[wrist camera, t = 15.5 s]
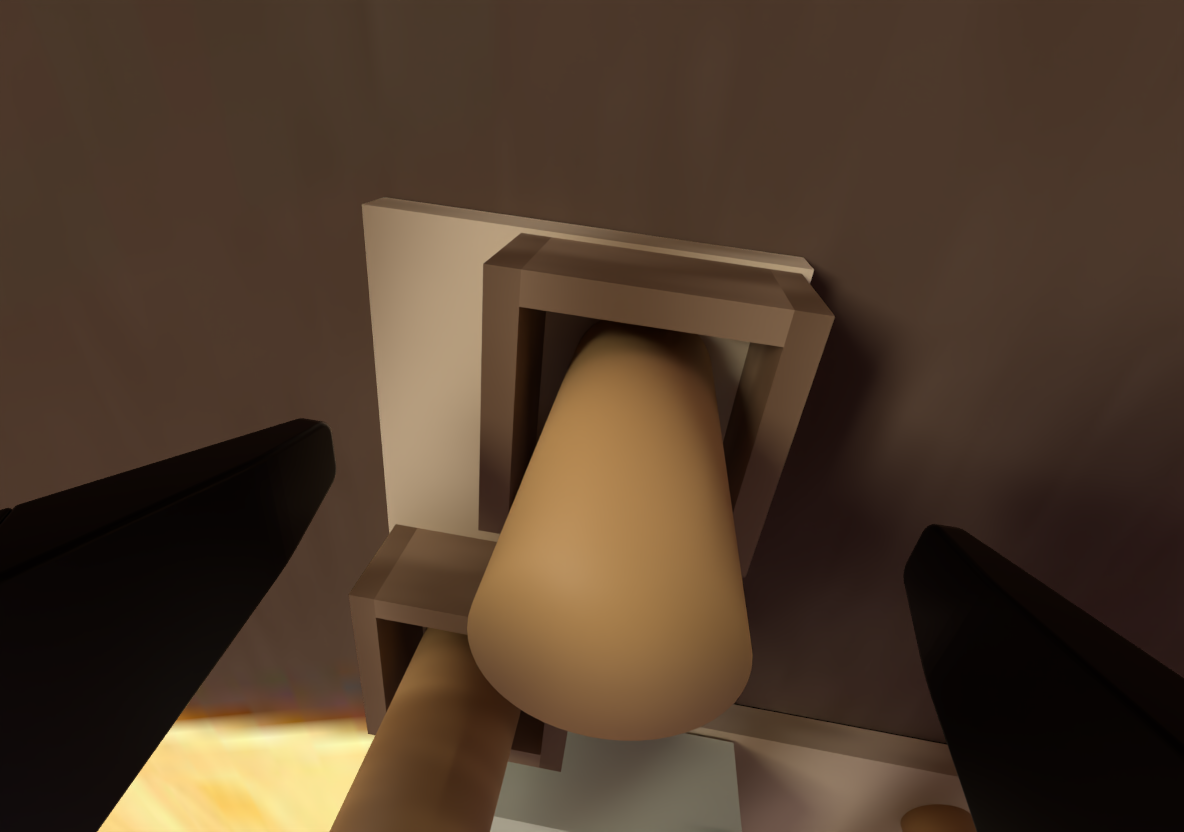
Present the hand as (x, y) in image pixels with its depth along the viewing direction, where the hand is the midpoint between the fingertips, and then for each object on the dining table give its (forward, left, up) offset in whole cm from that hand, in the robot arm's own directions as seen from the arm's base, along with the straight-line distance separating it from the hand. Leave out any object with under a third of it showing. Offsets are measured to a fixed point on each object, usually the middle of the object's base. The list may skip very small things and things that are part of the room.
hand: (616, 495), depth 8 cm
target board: (+1, +4, -5) cm, 7 cm away
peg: (0, 0, -4) cm, 4 cm away
